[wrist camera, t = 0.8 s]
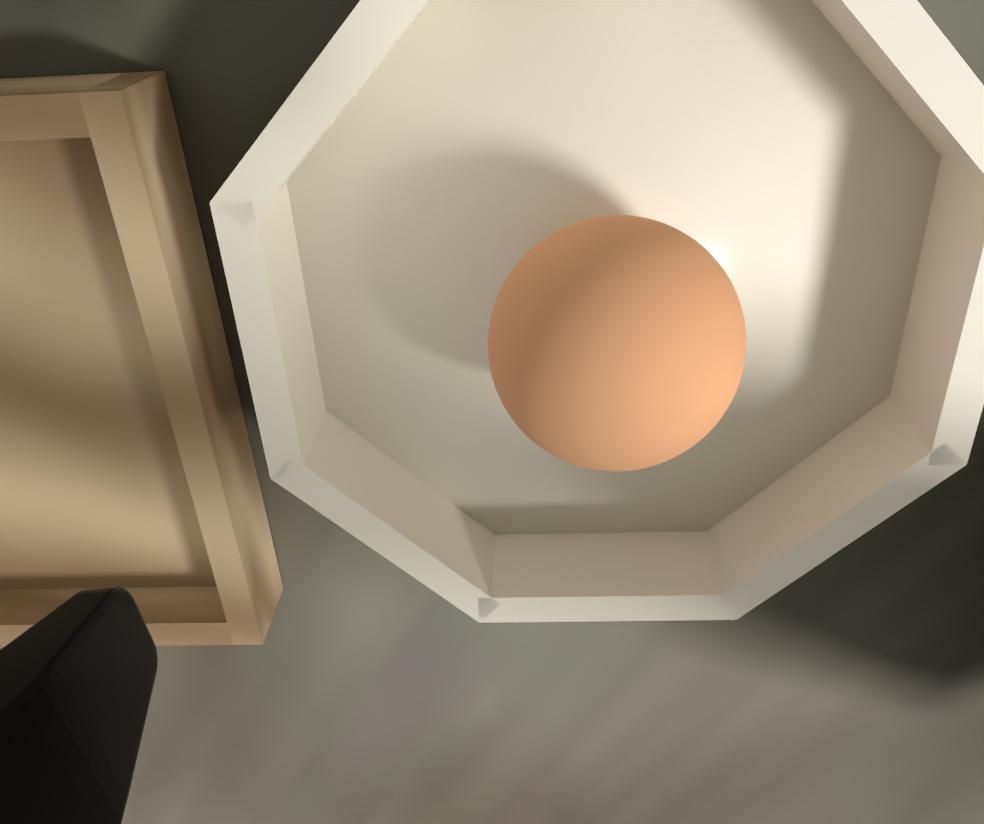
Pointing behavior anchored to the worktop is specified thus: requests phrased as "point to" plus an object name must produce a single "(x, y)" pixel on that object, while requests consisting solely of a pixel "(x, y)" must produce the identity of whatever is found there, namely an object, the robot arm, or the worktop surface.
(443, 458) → the bowl
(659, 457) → the ball
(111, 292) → the tray
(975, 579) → the worktop surface
